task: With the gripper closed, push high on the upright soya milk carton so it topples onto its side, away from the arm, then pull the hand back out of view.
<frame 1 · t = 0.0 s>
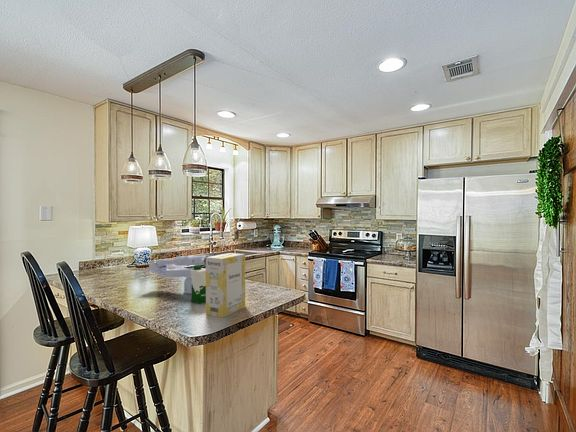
hand: (220, 259, 180), 22 cm above the countertop, tool horizontal, fingers open, 7 cm apart
soya milk: (200, 301, 167), on the countertop
pasta box: (226, 310, 151), on the countertop
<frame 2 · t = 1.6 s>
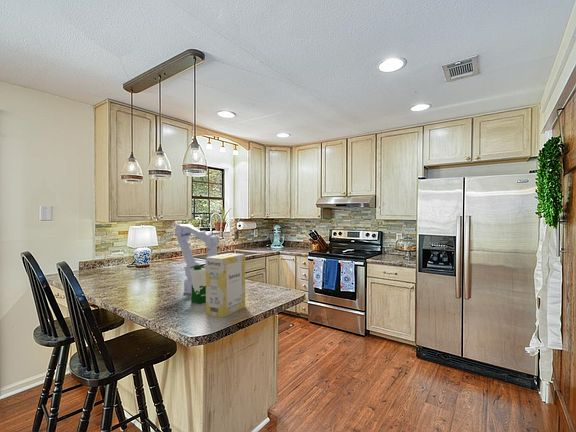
hand: (212, 278, 178), 10 cm above the countertop, tool pointing down, fingers open, 7 cm apart
nothing on the countertop moved.
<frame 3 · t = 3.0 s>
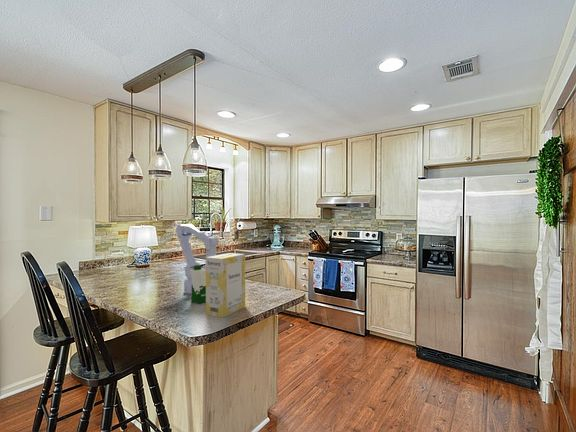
hand: (211, 279, 177), 10 cm above the countertop, tool pointing down, fingers closed
nothing on the countertop moved.
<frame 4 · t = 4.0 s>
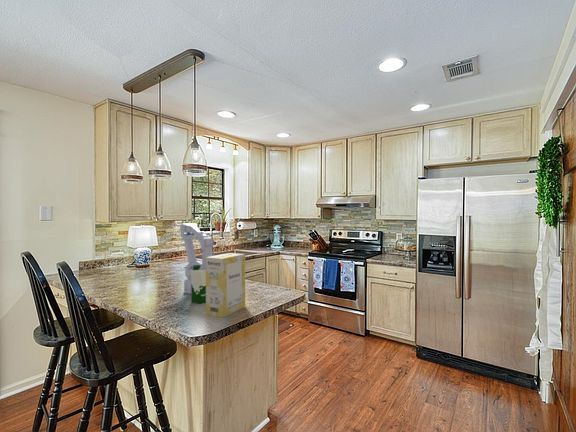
hand: (207, 281, 173), 10 cm above the countertop, tool pointing down, fingers closed
soya milk: (200, 301, 167), on the countertop, touching gripper
everything else where it was.
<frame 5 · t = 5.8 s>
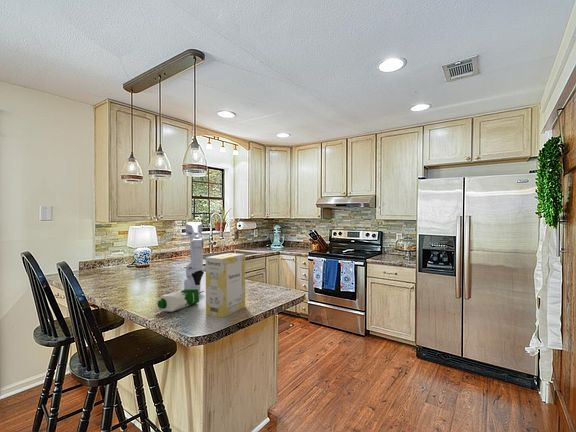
hand: (197, 284, 164), 10 cm above the countertop, tool pointing down, fingers closed
soya milk: (194, 295, 164), point 4 cm above the countertop
everything else where it was.
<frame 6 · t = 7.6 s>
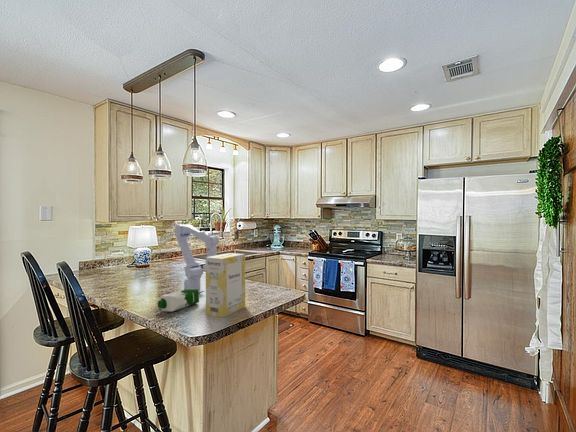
hand: (212, 278, 178), 10 cm above the countertop, tool pointing down, fingers closed
nothing on the countertop moved.
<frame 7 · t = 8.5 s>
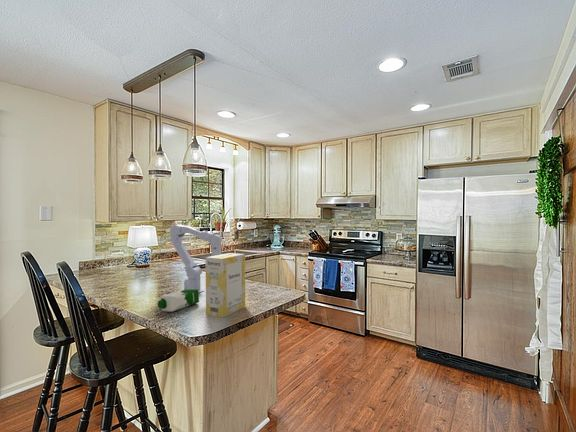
hand: (217, 276, 184), 10 cm above the countertop, tool pointing down, fingers closed
nothing on the countertop moved.
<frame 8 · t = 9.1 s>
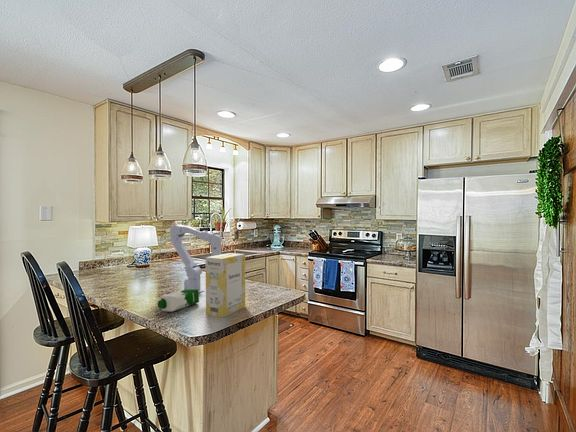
hand: (217, 276, 184), 10 cm above the countertop, tool pointing down, fingers closed
nothing on the countertop moved.
at the end: soya milk tilted 89°; soya milk inside the target area (2.8 cm from its centre), point 4.0 cm above the countertop; pasta box moved 0.2 cm from its start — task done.
